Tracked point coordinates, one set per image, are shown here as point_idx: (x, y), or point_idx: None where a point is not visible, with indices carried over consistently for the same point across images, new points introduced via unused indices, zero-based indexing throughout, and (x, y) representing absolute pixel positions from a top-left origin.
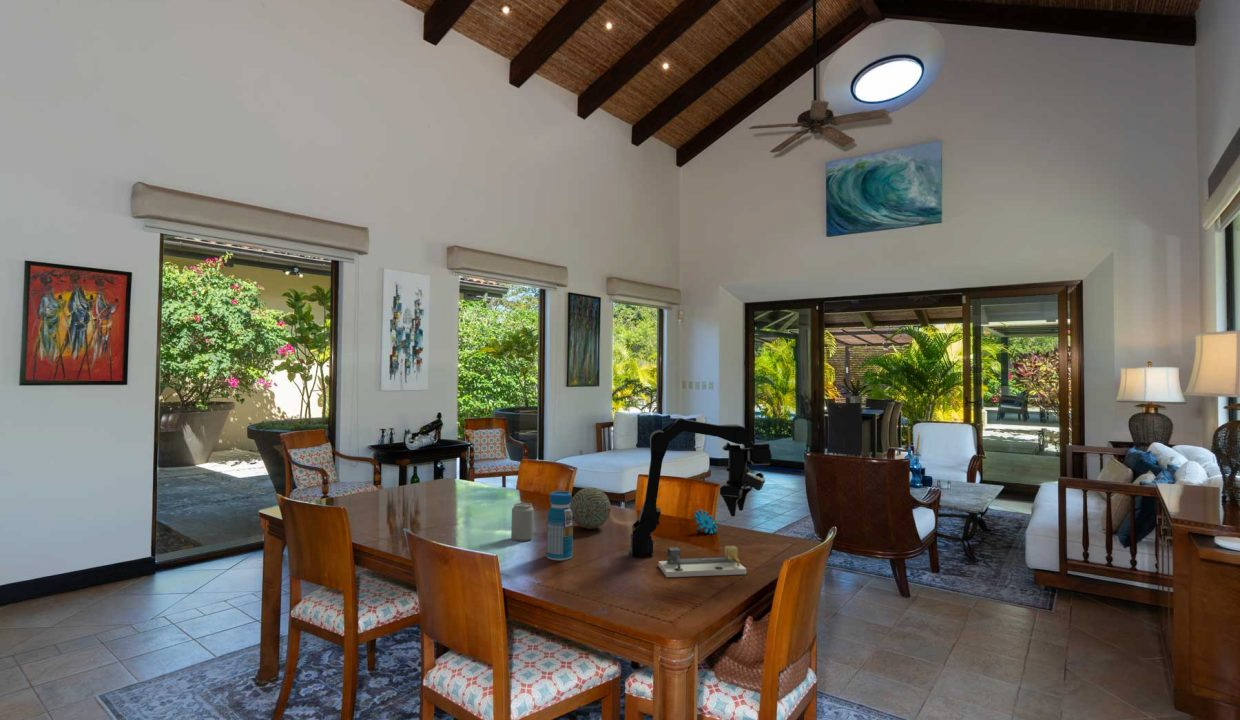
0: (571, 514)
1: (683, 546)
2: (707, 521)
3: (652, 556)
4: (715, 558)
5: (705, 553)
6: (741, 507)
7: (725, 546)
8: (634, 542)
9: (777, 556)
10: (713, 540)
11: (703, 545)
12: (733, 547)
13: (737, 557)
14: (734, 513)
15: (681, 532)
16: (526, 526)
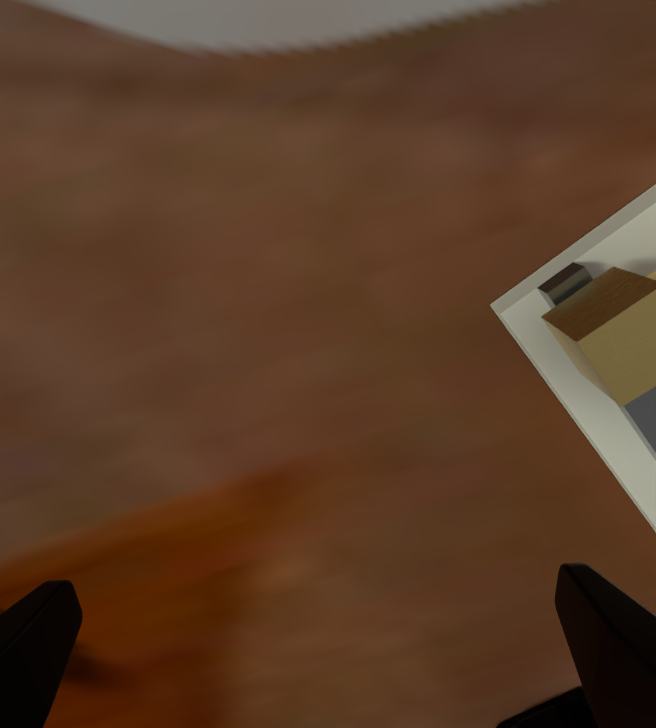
0: None
1: (308, 641)
2: None
3: (579, 689)
4: (649, 410)
5: (367, 517)
6: (42, 637)
7: (632, 399)
8: None
9: (116, 64)
10: (81, 562)
11: (219, 573)
12: (647, 328)
13: (617, 268)
14: (632, 606)
15: (70, 720)
16: None
